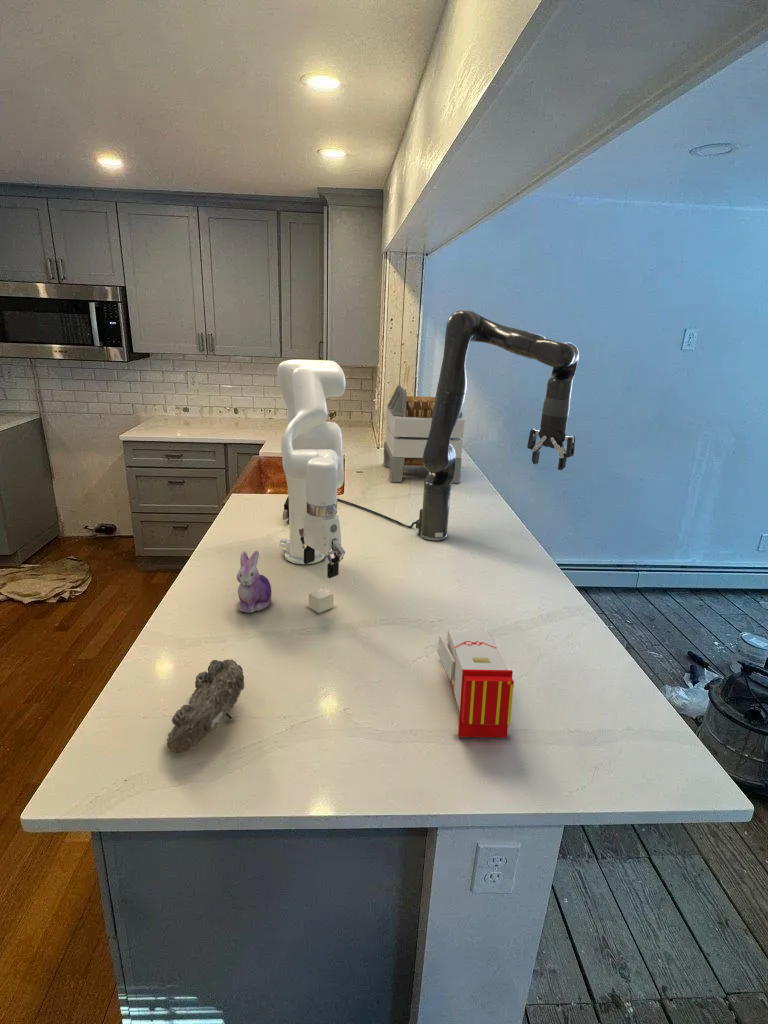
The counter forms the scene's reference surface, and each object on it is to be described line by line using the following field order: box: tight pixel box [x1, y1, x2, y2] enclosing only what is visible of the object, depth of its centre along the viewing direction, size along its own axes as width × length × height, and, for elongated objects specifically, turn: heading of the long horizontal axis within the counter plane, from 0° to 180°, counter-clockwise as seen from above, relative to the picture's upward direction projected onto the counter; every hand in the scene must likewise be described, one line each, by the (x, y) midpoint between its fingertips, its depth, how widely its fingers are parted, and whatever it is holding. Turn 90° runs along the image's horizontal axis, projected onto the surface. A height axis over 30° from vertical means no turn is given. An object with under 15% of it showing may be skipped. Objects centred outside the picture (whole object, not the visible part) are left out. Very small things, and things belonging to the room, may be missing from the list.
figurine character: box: [282, 495, 289, 524], centre depth 208 cm, size 7×8×15 cm
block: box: [308, 587, 334, 614], centre depth 148 cm, size 4×5×4 cm
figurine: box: [236, 550, 272, 614], centre depth 146 cm, size 9×10×15 cm
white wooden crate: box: [383, 384, 465, 484], centre depth 268 cm, size 34×33×41 cm
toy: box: [437, 628, 515, 738], centre depth 117 cm, size 12×13×30 cm
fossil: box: [166, 658, 245, 754], centre depth 106 cm, size 22×10×15 cm
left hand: (320, 569), depth 146 cm, fingers open, 9 cm apart
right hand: (547, 466), depth 172 cm, fingers open, 8 cm apart
